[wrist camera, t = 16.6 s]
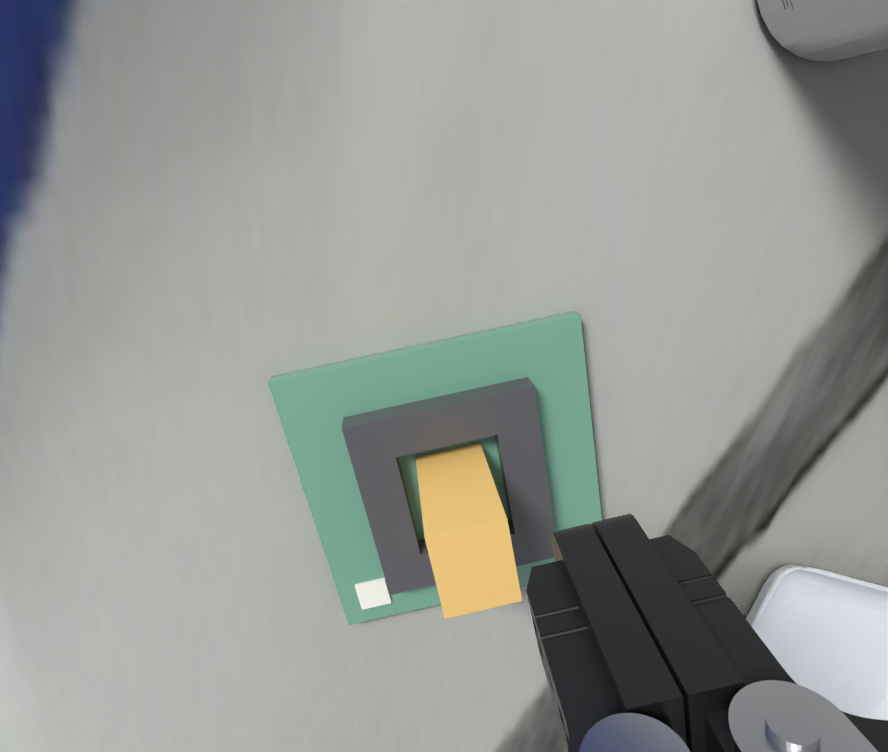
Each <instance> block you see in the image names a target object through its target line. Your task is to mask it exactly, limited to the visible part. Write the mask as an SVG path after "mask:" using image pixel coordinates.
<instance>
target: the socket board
mask: <svg viewBox="0 0 888 752" xmlns="http://www.w3.org/2000/svg"><path fill="white" fill-rule="evenodd" d="M268 384H269V387H270V390H271V393H272V396H273V399H274V402H275V405H276V408H277V411H278V414H279V417H280V420H281V423H282V426H283V429H284V432H285V435H286V438H287V441H288V444H289V447H290V450H291V453H292V456H293V459H294V462H295V465H296V468H297V471H298V474H299V477H300V480H301V483H302V486H303V489H304V492H305V495H306V498H307V501H308V504H309V507H310V510H311V513H312V516H313V519H314V522H315V525H316V528H317V531H318V534H319V537H320V540H321V543H322V546H323V549H324V552H325V555H326V558H327V561H328V564H329V567H330V570H331V573H332V576H333V579H334V582H335V585H336V588H337V591H338V594H339V597H340V600H341V603H342V606H343V609H344V612H345V615H346V618H347V621H348V624H349V625H352V624H356V623H361V622H365V621H369V620H374V619H378V618H382V617H387V616H391V615H395V614H400V613H404V612H408V611H413V610H417V609H421V608H426V607H430V606H434V605H439V604H441V601H440V597H439V593H438V590H437V586H436V582H435V578H434V574H433V570H432V566H431V562H430V558H429V554H428V550H427V546H426V542H425V537H424V528H423V519H422V510H421V502H420V493H419V484H418V475H417V466H416V457H415V456H420V455H424V454H428V453H433V452H437V451H442V450H446V449H451V448H455V447H460V446H464V445H469V444H473V443H478V442H480V444H481V447H482V449H483V452H484V455H485V458H486V461H487V463H488V466H489V469H490V472H491V475H492V478H493V480H494V483H495V486H496V489H497V492H498V494H499V497H500V500H501V503H502V506H503V508H504V511H505V514H506V517H507V520H508V525H509V531H510V536H511V542H512V547H513V553H514V558H515V564H516V569H517V575H518V580H519V586H522V585H526V584H528V581H529V577H530V572H531V567H534V566H538V565H542V564H547V563H551V562H555V559H554V553H553V548H552V542H551V532H554V531H558V530H563V529H567V528H571V527H576V526H580V525H584V524H590V525H591V523H592V522H597V521H601V520H602V515H601V505H600V496H599V486H598V477H597V467H596V458H595V448H594V438H593V429H592V419H591V410H590V400H589V391H588V381H587V372H586V362H585V353H584V343H583V334H582V324H581V315H579V314H578V313H576V312H575V311H574V312H570V313H565V314H561V315H556V316H551V317H547V318H542V319H537V320H533V321H528V322H523V323H519V324H514V325H510V326H505V327H500V328H496V329H491V330H486V331H482V332H477V333H473V334H468V335H463V336H459V337H454V338H449V339H445V340H440V341H436V342H431V343H426V344H422V345H417V346H412V347H408V348H403V349H399V350H394V351H389V352H385V353H380V354H375V355H371V356H366V357H362V358H357V359H352V360H348V361H343V362H338V363H334V364H329V365H325V366H320V367H315V368H311V369H306V370H301V371H297V372H292V373H288V374H283V375H278V376H274V377H271V379H270V381H269V383H268Z"/></svg>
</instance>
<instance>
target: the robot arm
mask: <svg viewBox="0 0 888 752" xmlns="http://www.w3.org/2000/svg"><path fill="white" fill-rule="evenodd" d="M757 1H758V5H759V9H760V12H761V16H762V18H763V20H764V22H765V24H766V26H767V27H768V29H769V31H770V33H771V34H772V35H773V37H774V38H775V39H776V40H777V41H778V42H779V43H780V44H781V46H782V47H784V48H785V49H787V50H788V51H790V52H791V53H793V54H795V55H796V56H798V57H802V58H805V59H808V60H811V61H828V62H831V61H835V60H840V59H845V58H849V57H853V56H858V55H862V54H866V53H870V52H875V51H879V50H883V49H887V48H888V0H757ZM551 542H552V548H553V553H554V559H555V562H551V563H547V564H542V565H538V566H534V567H531V572H530V577H529V581H528V586H527V595H528V600H529V605H530V610H531V614H532V619H533V624H534V629H535V633H536V638H537V643H538V648H539V653H540V656H541V659H542V663H543V666H544V670H545V673H546V677H547V680H548V684H549V687H550V691H551V694H552V698H553V701H554V704H555V708H556V711H557V715H558V718H559V722H560V725H561V729H562V732H563V736H564V739H565V743H566V746H567V750H568V752H888V720H878V719H871V718H864V717H860V716H856V715H852V714H848V713H846V712H843V711H840V710H839V709H838V708H837V707H836V706H835V705H834V704H833V703H831V702H830V701H829V700H827V699H826V698H825V697H823V696H821V695H820V694H818V693H816V692H814V691H812V690H810V689H808V688H806V687H803V686H800V685H798V684H797V683H796V682H795V681H794V680H793V679H792V678H791V677H790V676H789V675H788V674H787V672H786V671H785V670H784V668H783V667H782V666H781V665H780V663H779V662H778V661H777V659H776V658H775V657H774V655H773V654H772V653H771V651H770V650H769V649H768V648H767V646H766V645H765V644H764V642H763V641H762V640H761V638H760V637H759V636H758V634H757V633H756V632H755V630H754V629H753V628H752V627H751V625H750V624H749V623H748V621H747V620H746V619H745V617H744V616H743V615H742V613H741V612H740V611H739V610H738V608H737V607H736V606H735V604H734V603H733V602H732V600H731V599H730V598H727V596H726V592H725V591H724V590H723V589H722V587H721V586H720V585H719V583H718V582H717V581H716V579H715V578H714V579H713V578H712V575H711V573H710V572H709V570H708V569H707V568H706V566H705V565H704V564H703V562H702V561H701V560H700V558H699V557H698V556H697V554H696V553H695V552H694V551H693V550H691V549H689V548H688V547H686V546H685V545H683V544H682V543H680V542H678V541H677V540H675V539H674V538H672V537H671V536H669V535H667V536H663V537H659V538H654V539H650V540H649V538H648V537H647V535H646V534H645V532H644V531H643V529H642V528H641V526H640V525H639V523H638V522H637V520H636V519H635V518H634V516H633V515H631V514H627V515H623V516H618V517H614V518H610V519H605V520H601V521H597V522H592V523H591V525H590V524H584V525H580V526H576V527H571V528H567V529H563V530H558V531H554V532H551Z"/></svg>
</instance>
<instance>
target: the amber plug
mask: <svg viewBox="0 0 888 752" xmlns="http://www.w3.org/2000/svg"><path fill="white" fill-rule="evenodd" d="M415 457H416V466H417V475H418V484H419V493H420V502H421V510H422V519H423V528H424V537H425V542H426V546H427V550H428V554H429V558H430V562H431V566H432V570H433V574H434V578H435V582H436V586H437V590H438V593H439V597H440V601H441V605H442V609H443V613H444V617H445V619H446V618H450V617H455V616H459V615H463V614H467V613H472V612H476V611H480V610H485V609H489V608H493V607H498V606H502V605H506V604H511V603H515V602H519V601H522V597H521V591H520V586H519V580H518V575H517V569H516V564H515V558H514V553H513V547H512V542H511V536H510V531H509V525H508V520H507V517H506V514H505V511H504V508H503V506H502V503H501V500H500V497H499V494H498V492H497V489H496V486H495V483H494V480H493V478H492V475H491V472H490V469H489V466H488V463H487V461H486V458H485V455H484V452H483V449H482V447H481V444H480V442H478V443H473V444H469V445H464V446H460V447H455V448H451V449H446V450H442V451H437V452H433V453H428V454H424V455H420V456H415Z"/></svg>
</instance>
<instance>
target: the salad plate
mask: <svg viewBox="0 0 888 752" xmlns="http://www.w3.org/2000/svg"><path fill="white" fill-rule="evenodd" d="M746 620H747V621H748V623H749V624H750V625H751V627H752V628H753V629H754V630H755V632H756V633H757V634H758V636H759V637H760V638H761V640H762V641H763V642H764V644H765V645H766V646H767V648H768V649H769V650H770V651H771V653H772V654H773V655H774V657H775V658H776V659H777V661H778V662H779V663H780V665H781V666H782V667H783V668H784V670H785V671H786V672H787V674H788V675H789V676H790V677H791V678H792V679H793V680H794V681H795V682H796V683H797V684H798V685H800V686H803V687H806V688H808V689H810V690H812V691H814V692H816V693H818V694H820V695H821V696H823V697H825V698H826V699H827V700H829V701H830V702H831V703H833V704H834V705H835V706H836V707H837V708H838V709H839V710H840V711H843V712H846V713H848V714H852V715H856V716H860V717H864V718H871V719H878V720H888V587H886V586H882V585H878V584H874V583H870V582H865V581H862V580H858V579H854V578H851V577H847V576H844V575H840V574H837V573H833V572H830V571H826V570H822V569H818V568H813V567H807V566H801V565H795V564H789V565H784V566H782V567H780V568H778V569H777V570H775V571H774V572H773V573H772V574H771V575H770V576H769V577H768V579H767V580H766V582H765V584H764V585H763V587H762V589H761V591H760V593H759V595H758V597H757V599H756V601H755V602H754V604H753V606H752V608H751V610H750V612H749V613H748V615H747V617H746Z"/></svg>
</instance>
